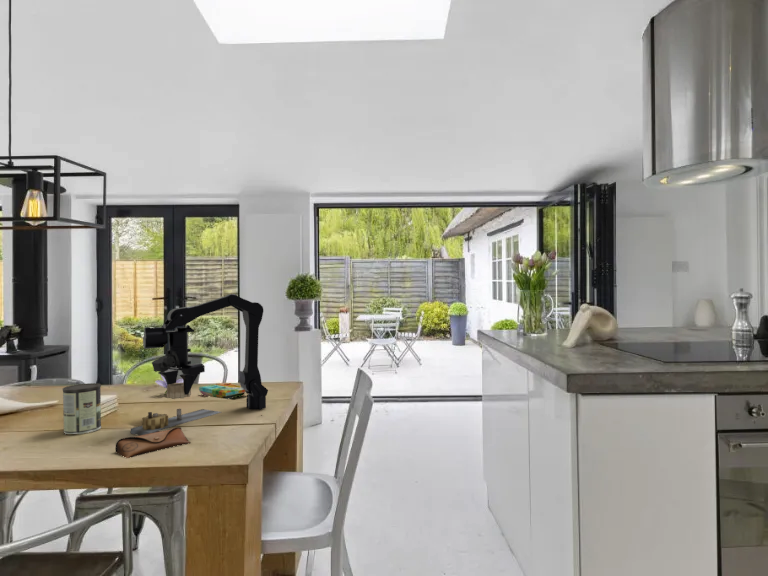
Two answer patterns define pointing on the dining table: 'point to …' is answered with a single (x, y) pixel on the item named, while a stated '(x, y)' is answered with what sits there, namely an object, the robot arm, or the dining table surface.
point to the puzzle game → (222, 390)
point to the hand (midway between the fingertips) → (179, 393)
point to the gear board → (168, 421)
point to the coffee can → (82, 408)
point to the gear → (176, 391)
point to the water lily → (166, 382)
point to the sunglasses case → (150, 442)
